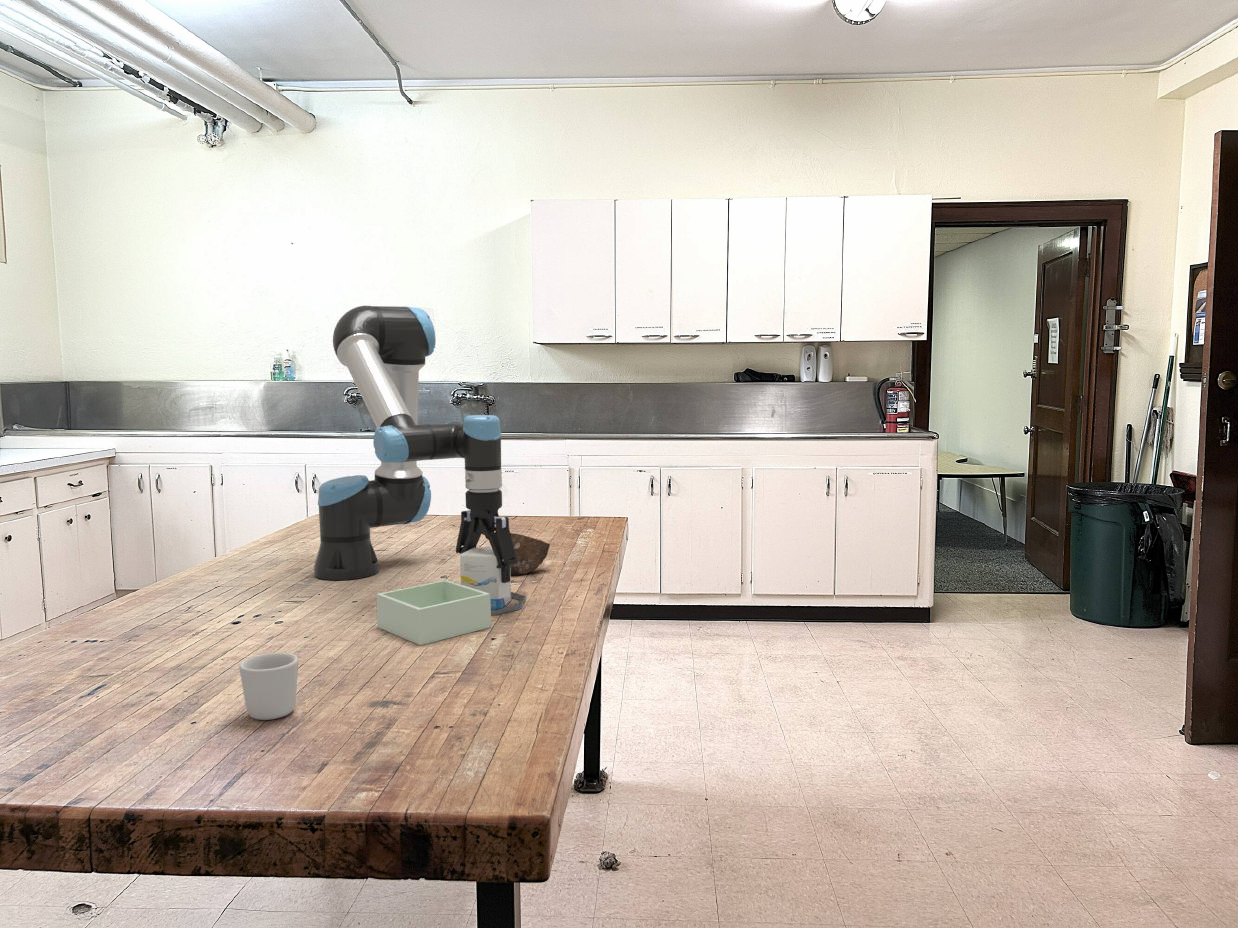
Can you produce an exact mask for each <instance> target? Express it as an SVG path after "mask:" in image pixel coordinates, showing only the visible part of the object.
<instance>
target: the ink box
mask: <svg viewBox="0 0 1238 928" xmlns="http://www.w3.org/2000/svg"><path fill="white" fill-rule="evenodd" d="M459 556H460V557H459V558H460V559H459V561H460V565H459V566H460V570H459V571H460V585H464V586H467V587H470V588H473V589H476V590H480V591H483V592H486V593H489V594H490V602H491V609H499V608H503V607H506V605H508V604H509V603H510V602H511V601H512V598H511V592H512V587H511V585H512V584H511V583H512V582H511V580H512V579H511V575H512V574H510V582H509V584H510V597H506V598H502V599H497V581H496V567H497V566H498V562H497V560H496V557H495V555H494V552H493V550H492V547H491V546H481V547H480V546H479V547H477V546H476V547H475V548H472V549H470V550H468V551H466V552H464V553H462V554H460V553H459Z"/></svg>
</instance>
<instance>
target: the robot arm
mask: <svg viewBox="0 0 1238 928" xmlns="http://www.w3.org/2000/svg"><path fill="white" fill-rule="evenodd" d="M332 345H333V351H334V353H335V356H336V358H337V360H338V361H339V363H340V364H341V365H342V366H344V367H346V368H347V369H348V371H349V374H350V376H351V378H352V380H353V381H354V384H355V386H356V388H357V391H358V392H359V395H360V397H362V401H363V403H364V404H365V406H366V409H367V411H368V413H369V415H370V417H371V419H372V420H373V422H374V424H375V427H376V430H375V431H374V434H373V442H372V443H373V448H374V454H375V456H376V458H377V459H378V460H379V461H380V466H378V467H377V468H376V469H375V470H374V479H372V480H369V478H368V476H367V475H363V474H362V475H360V474H359V475H358V474H357V475H348V476H341V477H336V478H332V479H329V480H326V481H325V482H323V483H322V484H320V486H319V488H318V495H317V496H318V499H317V505H318V518H319V520H318V521H319V536H320V539H319V540H320V542H319V543H320V545H319V548H318V552H317V556H316V558H315V562H314V566H313V572H314V573H313V575H314V577H315V578H318V579H320V580H329V581H340V580H341V581H342V580H343V581H345V580H356V579H362V578H363V579H364V578H365V577H370V576H373V575H375V574H377V573H379V572H380V566H379V565H380V563H379V559H378V557H377V554H376V551H375V549H374V547H373V544H372V541H371V528H381V527H388V526H395V525H396V526H397V525H408V524H412V523H417V522H421V521H422V520H423V519H424V518H425V517H426V516H427V515H428V512H429V509H430V507H431V501H432V490H431V485H430V482H429V480H428V479H427V477H426V476H423V471H422V469H420V468H419V466H418V465H417V463H418V462H421V461H431V460H446V459H464V471H465V472H464V473H465V474H464V475H465V477H464V479H465V488H466V489H467V491H466V492H465V508H466V509H467V510H462V511H461V512H460V526H459V531H458V535H457V536H458V537H457V542H456V547H455V553H456V554H459V555H460V554H462V553H464V552H466V551H468V550H470V549H472V548H475V547H477V545H478V543H479V541H480V539H481V536H484V537H485V539H487V540H488V542H489V544H490V547H492V550H493V552H494V555H495V557H496V560H497V562H498V566H497V567H496V581H497V599H502V598H506V597H510V584H509V582H510V566H511V565H514V564H517V559H516V555H515V550H514V546H513V542H512V538H511V534H510V533H511V531H510V519H509V517H508V516H503V517H500V516H499V510H500V508H503V491H502V490H501V488H502V487H503V476H502V474H503V472H502V431H501V421H500V418H499V417H498V416H497V415H492V414H475V415H472V414H471V415H467V416H465V417H464V419H463V422H461V421H449V422H445V423H434V424H433V423H429V424H427V423H426V424H418V421H419V420H418V417H419V414H418V413H419V381H420V380H419V379H420V378H419V377H420V375H419V374H420V370H421V369H422V368H424V366H425V365H426V357H429V356H432V354H433V353H434V352H435V348H436V332H435V326H434V323H433V321H432V319H431V317H430V316H429V314H428V313H427V312H426V311H425V310H424V309H423V308H420V307H410V306H397V305H396V306H388V305H387V306H383V305H381V306H377V305H376V306H375V305H360V306H355V307H353V308H351V309H350V310H348V311H346V312H345V313H344V314H343V315H342V316H341V317H340V319H338V321H337V323H336V325H335V327H334V330H333V334H332ZM510 558H511V559H510Z"/></svg>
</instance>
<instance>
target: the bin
mask: <svg viewBox="0 0 1238 928" xmlns="http://www.w3.org/2000/svg"><path fill="white" fill-rule="evenodd" d="M375 596H376V614H377V615H376V616H377V617H376V618H377V619H376V620H377V628H379V629H380V630H384V631H385V632H388V633H390V634H393V635H395V636H397V637H399V638H401V639H404V640H407V641H408V642H409V641H410V642H411V643H413V644H416V645H419V646H422V645H427V644H432V643H435V642H439V641H443V640H446V639H451V638H453V637H454V638H455V637H458V636H462V635H465V634H466V635H467V634H470V633H474V632H478V631H481V630H482V631H483V630H486V629H489V628H492V615H491V602H490V594H489V593H486V592H483V591H480V590H476V589H473V588H470V587H467V586H464V585H461V583H457V582H454V581H450V580H447V579H444V580H439V581H434V582H433V581H432V582H430V583H423V584H420V585H419V584H418V585H414V586H409V587H405V588H400V589H395V590H390V591H384V592H380V593H376V594H375Z"/></svg>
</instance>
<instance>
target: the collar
mask: <svg viewBox="0 0 1238 928" xmlns="http://www.w3.org/2000/svg"><path fill="white" fill-rule="evenodd" d="M511 599H514V600H517V601H518V603H516V604H511V605H508V606H504V607H503V608H499V609H491V616H499V615H502V614H506V613H512V612H516V611H519V610H522V609H523V607H524V605H525V602H526V595H523V594H519V593H517V592H514V591H511Z"/></svg>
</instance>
